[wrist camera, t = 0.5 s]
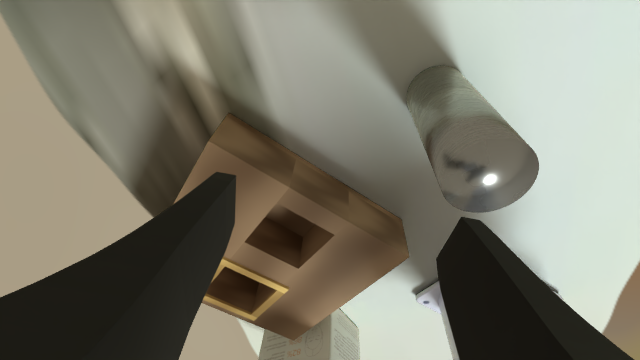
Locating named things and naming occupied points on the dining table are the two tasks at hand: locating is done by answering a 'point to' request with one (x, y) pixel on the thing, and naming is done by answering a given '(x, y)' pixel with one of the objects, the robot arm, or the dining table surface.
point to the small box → (315, 342)
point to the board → (292, 234)
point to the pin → (469, 142)
